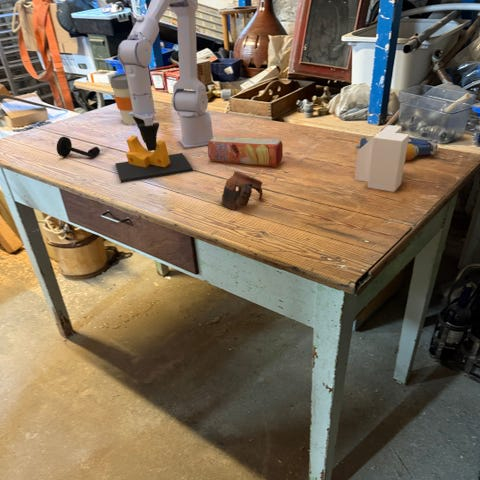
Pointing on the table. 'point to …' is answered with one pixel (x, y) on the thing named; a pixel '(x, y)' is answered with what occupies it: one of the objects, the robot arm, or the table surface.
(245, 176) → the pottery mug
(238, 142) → the snack package
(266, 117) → the table surface
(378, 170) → the corner bracket
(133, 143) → the pipe clamp
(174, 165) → the mat
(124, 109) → the reusable coffee cup
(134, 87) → the robot arm
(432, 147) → the spray gun
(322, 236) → the table surface
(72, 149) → the light fixture
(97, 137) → the table surface
